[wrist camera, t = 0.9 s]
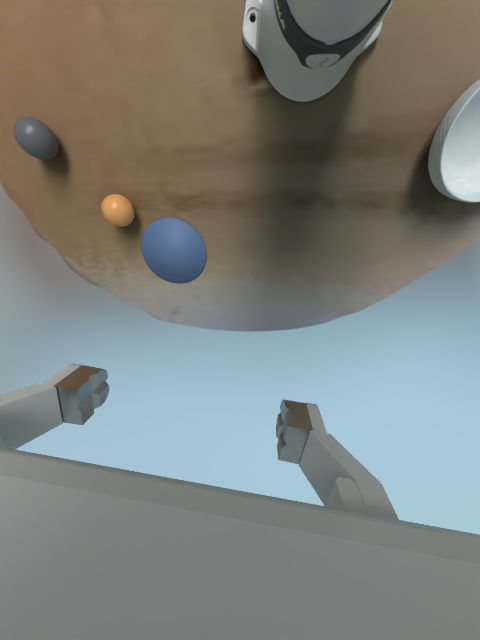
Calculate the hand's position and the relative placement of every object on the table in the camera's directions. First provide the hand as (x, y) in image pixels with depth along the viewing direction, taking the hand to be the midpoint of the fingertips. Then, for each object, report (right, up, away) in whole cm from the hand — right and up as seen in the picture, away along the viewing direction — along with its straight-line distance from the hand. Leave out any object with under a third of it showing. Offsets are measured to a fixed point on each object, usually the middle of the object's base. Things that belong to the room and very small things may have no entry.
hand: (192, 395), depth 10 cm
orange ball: (-21, +24, +32) cm, 45 cm away
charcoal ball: (-31, +33, +27) cm, 53 cm away
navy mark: (-12, +18, +39) cm, 45 cm away
